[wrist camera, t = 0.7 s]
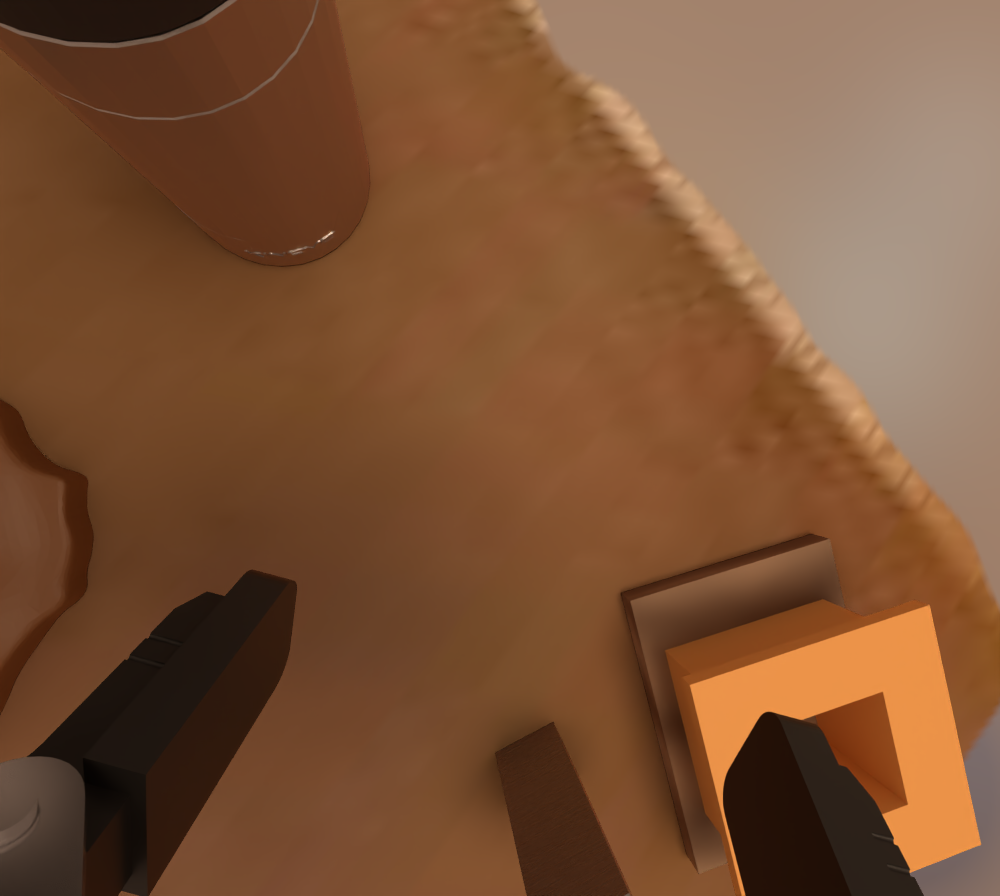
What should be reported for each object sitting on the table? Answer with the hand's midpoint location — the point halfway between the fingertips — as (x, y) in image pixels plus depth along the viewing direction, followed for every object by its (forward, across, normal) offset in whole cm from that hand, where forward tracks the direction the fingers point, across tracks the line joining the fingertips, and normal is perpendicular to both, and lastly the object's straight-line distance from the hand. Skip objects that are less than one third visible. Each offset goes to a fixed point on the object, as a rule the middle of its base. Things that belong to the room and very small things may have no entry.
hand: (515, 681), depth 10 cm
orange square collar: (+18, -17, +15) cm, 29 cm away
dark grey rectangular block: (+16, -5, +21) cm, 26 cm away
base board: (+20, -16, +15) cm, 30 cm away
